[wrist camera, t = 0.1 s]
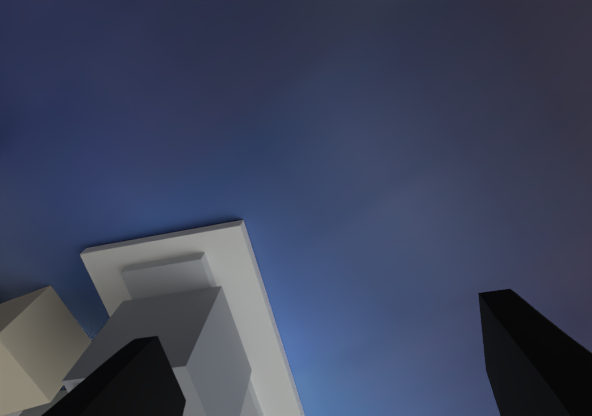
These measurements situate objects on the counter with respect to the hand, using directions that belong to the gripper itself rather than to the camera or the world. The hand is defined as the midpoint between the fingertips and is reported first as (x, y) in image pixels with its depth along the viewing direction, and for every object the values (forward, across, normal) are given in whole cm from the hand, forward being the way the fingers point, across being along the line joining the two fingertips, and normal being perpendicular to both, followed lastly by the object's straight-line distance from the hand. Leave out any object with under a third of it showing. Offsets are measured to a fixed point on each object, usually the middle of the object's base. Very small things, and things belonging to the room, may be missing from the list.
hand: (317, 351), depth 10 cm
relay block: (+10, +17, +5) cm, 20 cm away
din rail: (+10, +8, +12) cm, 18 cm away
